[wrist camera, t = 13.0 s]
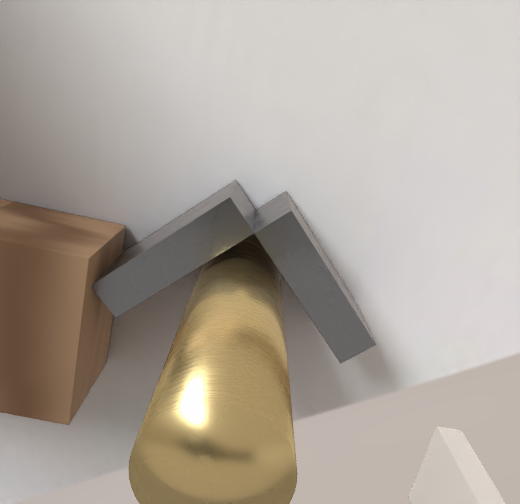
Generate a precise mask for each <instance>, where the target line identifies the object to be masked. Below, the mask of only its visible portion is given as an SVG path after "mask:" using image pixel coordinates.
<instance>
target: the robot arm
mask: <svg viewBox="0 0 520 504" xmlns="http://www.w3.org/2000/svg"><path fill="white" fill-rule="evenodd" d="M408 498H409V501H410V503H411V504H505V502H504V500H503V499H502V497H501V495H500V494H499V492H498V490H497V489H496V487H495V485H494V484H493V482H492V480H491V479H490V477H489V476H488V474H487V472H486V471H485V469H484V467H483V466H482V464H481V462H480V461H479V459H478V457H477V456H476V454H475V452H474V451H473V449H472V448H471V446H470V444H469V443H468V441H467V439H466V438H465V436H464V434H463V433H462V431H461V430H456V429H450V428H445V427H440V426H437V427H436V429H435V432H434V434H433V437H432V440H431V442H430V444H429V447H428V449H427V452H426V454H425V457H424V459H423V462H422V464H421V467H420V469H419V471H418V474H417V477H416V479H415V481H414V484H413V486H412V489H411V491H410V494H409V496H408Z"/></svg>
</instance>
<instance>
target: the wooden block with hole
mask: <svg viewBox="0 0 520 504" xmlns="http://www.w3.org/2000/svg"><path fill="white" fill-rule="evenodd" d="M125 228H126V226H125V225H120V224H116V223H111V222H106V221H102V220H97V219H92V218H88V217H83V216H78V215H74V214H69V213H64V212H60V211H55V210H50V209H46V208H41V207H36V206H32V205H27V204H22V203H18V202H13V201H8V200H4V199H0V412H2V413H8V414H13V415H18V416H24V417H29V418H34V419H39V420H45V421H50V422H55V423H61V424H66V425H69V424H70V422H71V420H72V419H73V417H74V416H75V414H76V412H77V411H78V409H79V407H80V406H81V404H82V402H83V401H84V399H85V397H86V396H87V394H88V392H89V391H90V389H91V387H92V386H93V384H94V383H95V381H96V379H97V378H98V376H99V374H100V373H101V371H102V369H103V368H104V366H105V364H106V363H107V356H108V349H109V342H110V335H111V328H112V321H113V314H112V312H111V311H110V310H109V309H108V307H107V306H106V305H105V304H104V302H103V301H102V300H101V299H100V297H99V296H98V295H97V293H96V292H95V291H94V290H93V288H92V284H93V283H94V282H95V281H96V280H97V279H98V278H99V277H100V276H101V275H102V274H103V273H104V272H105V270H106V269H107V268H108V267H109V266H110V265H111V264H112V263H113V262H114V261H115V260H116V259H117V258H118V257H119V256H120V255H121V254H122V250H123V243H124V236H125Z"/></svg>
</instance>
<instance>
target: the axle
mask: <svg viewBox="0 0 520 504" xmlns="http://www.w3.org/2000/svg"><path fill="white" fill-rule="evenodd" d="M129 479H130V483H131V487H132V490H133V492H134V495H135V497H136V498H137V500H138V502H139V503H140V504H289V503H290V501H291V499H292V497H293V494H294V492H295V488H296V483H297V466H296V454H295V443H294V432H293V420H292V409H291V398H290V386H289V375H288V363H287V352H286V341H285V329H284V318H283V307H282V295H281V284H280V273H279V270H278V268H277V267H276V265H275V264H274V262H273V261H272V259H271V258H270V256H269V255H268V253H267V252H266V250H265V249H264V247H263V246H262V244H261V243H260V241H259V240H258V238H257V237H256V236H254V235H250V236H249V237H247V238H246V239H244V240H242V241H241V242H239V243H237V244H236V245H234V246H233V247H231V248H229V249H228V250H226V251H224V252H223V253H221V254H220V255H218V256H216V257H215V258H213V259H211V260H210V261H208V262H206V263H205V264H203V265H202V268H201V271H200V273H199V276H198V278H197V281H196V284H195V286H194V289H193V292H192V294H191V297H190V300H189V302H188V305H187V307H186V310H185V313H184V315H183V318H182V321H181V323H180V326H179V328H178V331H177V334H176V336H175V339H174V342H173V344H172V347H171V350H170V352H169V355H168V357H167V360H166V363H165V365H164V368H163V371H162V373H161V376H160V378H159V381H158V384H157V386H156V389H155V392H154V394H153V397H152V400H151V402H150V405H149V407H148V410H147V413H146V415H145V418H144V421H143V423H142V426H141V429H140V431H139V434H138V436H137V439H136V442H135V444H134V447H133V450H132V453H131V456H130V460H129Z"/></svg>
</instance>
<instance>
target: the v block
mask: <svg viewBox="0 0 520 504" xmlns="http://www.w3.org/2000/svg"><path fill="white" fill-rule="evenodd" d="M255 216H256V218H255ZM254 229H255V231H254ZM252 234H255V235H256V237H257V238H258V240H259V241H260V243H261V244H262V246H263V247H264V249H265V250H266V252H267V253H268V255H269V256H270V258H271V259H272V261H273V262H274V264H275V265H276V267H277V268H278V270H279V271H280V273H281V274H282V276H283V277H284V279H285V280H286V282H287V283H288V285H289V286H290V288H291V289H292V291H293V292H294V294H295V295H296V297H297V298H298V300H299V302H300V303H301V305H302V306H303V308H304V309H305V311H306V312H307V314H308V315H309V317H310V318H311V320H312V321H313V323H314V324H315V326H316V327H317V329H318V330H319V332H320V333H321V335H322V336H323V338H324V339H325V341H326V342H327V344H328V345H329V347H330V348H331V350H332V351H333V353H334V354H335V356H336V357H337V359H338V360H339V362H340V363H343V362H344V361H346V360H348V359H350V358H352V357H354V356H356V355H357V354H359V353H361V352H363V351H365V350H367V349H368V348H370V347H372V346H374V345H376V344H375V341H374V339H373V337H372V335H371V333H370V331H369V329H368V326H367V324H366V322H365V320H364V318H363V316H362V313H361V311H360V309H359V307H358V305H357V303H356V301H355V300H354V298H353V296H352V295H351V293H350V292H349V290H348V288H347V287H346V285H345V284H344V282H343V280H342V279H341V277H340V276H339V274H338V272H337V271H336V269H335V268H334V266H333V264H332V263H331V261H330V260H329V258H328V256H327V255H326V253H325V252H324V250H323V248H322V247H321V245H320V244H319V242H318V240H317V239H316V237H315V236H314V234H313V232H312V231H311V229H310V228H309V226H308V224H307V223H306V221H305V220H304V218H303V216H302V215H301V213H300V212H299V210H298V208H297V207H296V205H295V204H294V202H293V200H292V199H291V197H290V196H289V194H288V192H287V191H286V192H284V193H282V194H281V195H279V196H278V197H276V198H274V199H273V200H271V201H270V202H268V203H266V204H265V205H263V206H262V207H260V208H258V209H257V210H256V209H255V208H254V206H253V205H252V203H251V202H250V200H249V198H248V197H247V195H246V194H245V192H244V191H243V189H242V188H241V186H240V185H239V183H238V182H237V180H235V181H233V182H232V183H230V184H229V185H227V186H226V187H224V188H223V189H221V190H219V191H218V192H216V193H215V194H213V195H212V196H210V197H209V198H207V199H205V200H204V201H202V202H201V203H199V204H198V205H196V206H195V207H193V208H191V209H190V210H188V211H187V212H185V213H184V214H182V215H181V216H179V217H177V218H176V219H174V220H173V221H171V222H170V223H168V224H166V225H165V226H163V227H162V228H160V229H159V230H157V231H156V232H154V233H152V234H151V235H149V236H148V237H146V238H145V239H143V240H142V241H140V242H138V243H137V244H135V245H134V246H132V247H131V248H129V249H128V250H126V251H124V252H123V253H122V254H121V255H120V256H119V257H118V258H117V259H116V260H115V261H114V262H113V263H112V264H111V265H110V266H109V267H108V268H107V269H106V270H105V272H104V273H103V274H102V275H101V276H100V277H99V278H98V279H97V280H96V281H95V282H94V283H93V284H92V288H93V290H94V291H95V292H96V293H97V295H98V296H99V297H100V299H101V300H102V301H103V302H104V304H105V305H106V306H107V307H108V309H109V310H110V311H111V312H112V314H113V315H114V316H115V317H116V318H117V317H119V316H120V315H122V314H124V313H125V312H127V311H128V310H130V309H132V308H133V307H135V306H137V305H138V304H140V303H141V302H143V301H145V300H146V299H148V298H150V297H151V296H153V295H154V294H156V293H158V292H159V291H161V290H163V289H164V288H166V287H167V286H169V285H171V284H172V283H174V282H176V281H177V280H179V279H180V278H182V277H184V276H185V275H187V274H189V273H190V272H192V271H193V270H195V269H197V268H198V267H200V266H202V265H203V264H205V263H206V262H208V261H210V260H211V259H213V258H215V257H216V256H218V255H220V254H221V253H223V252H224V251H226V250H228V249H229V248H231V247H233V246H234V245H236V244H237V243H239V242H241V241H242V240H244V239H246V238H247V237H249V236H250V235H252Z"/></svg>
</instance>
